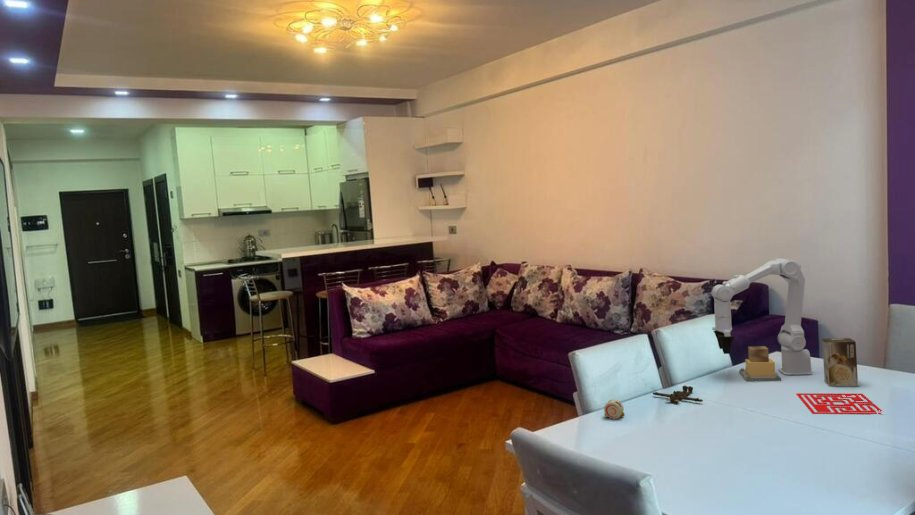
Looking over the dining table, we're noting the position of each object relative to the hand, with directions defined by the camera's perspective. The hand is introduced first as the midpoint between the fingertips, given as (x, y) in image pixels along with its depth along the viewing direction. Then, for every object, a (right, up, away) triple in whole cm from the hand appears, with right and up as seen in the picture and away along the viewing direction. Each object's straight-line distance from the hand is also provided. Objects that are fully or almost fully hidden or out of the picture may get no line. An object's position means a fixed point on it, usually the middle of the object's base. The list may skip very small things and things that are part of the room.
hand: (724, 351), depth 236 cm
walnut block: (+12, -3, -2) cm, 13 cm away
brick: (+13, -8, -2) cm, 15 cm away
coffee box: (+33, -9, -18) cm, 39 cm away
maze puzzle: (+21, -12, -37) cm, 44 cm away
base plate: (+12, -10, -2) cm, 16 cm away
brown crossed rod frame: (-24, -14, -19) cm, 33 cm away
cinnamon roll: (-51, -17, -32) cm, 62 cm away
